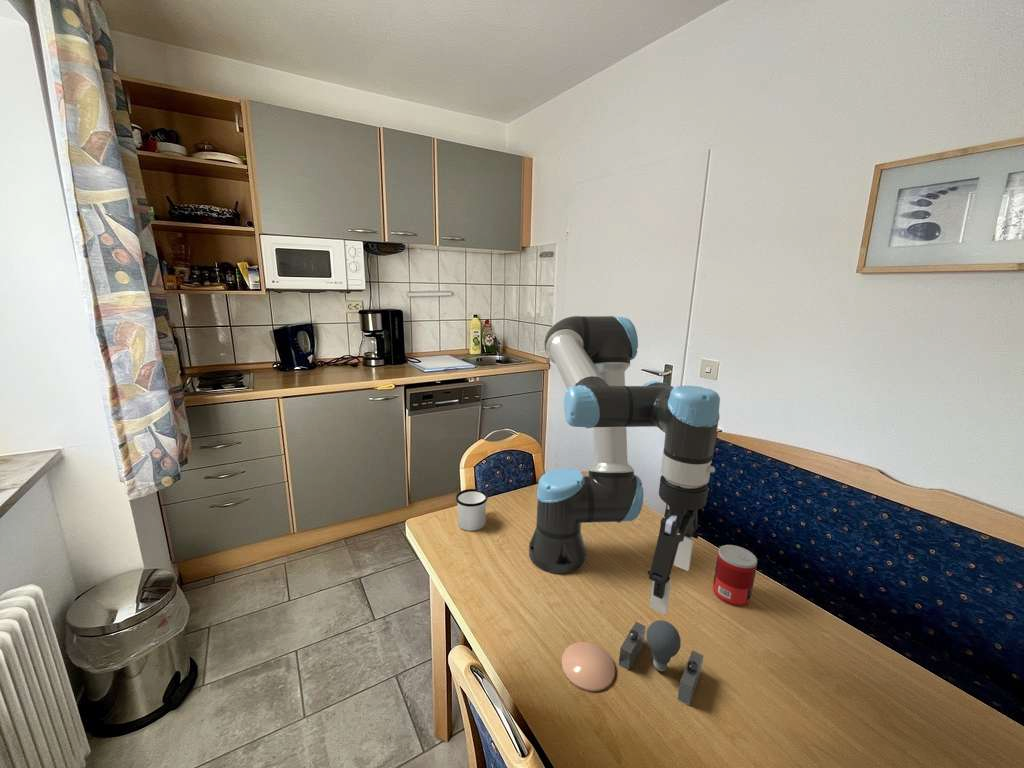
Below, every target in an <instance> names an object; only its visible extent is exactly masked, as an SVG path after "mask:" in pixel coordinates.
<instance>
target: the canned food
mask: <svg viewBox="0 0 1024 768" xmlns="http://www.w3.org/2000/svg"><path fill="white" fill-rule="evenodd" d="M715 563H716V564H715V569H714V575H713V581H712V583H713V584H712V590H713V592H714V595H715V596H716V597H717V598H718V599H719V600H720V601H722V602H724V603H726V604H727V605H730V606H734V607H744V606H747V605H748V604H749V603H750V601H751V597H752V592H753V587H754V583H755V577H756V576H755V575H756V572H757V566H758V559H757V555H755V554H754V553H753V552H751V551H750V550H748V549H746V548H744V547H741V546H740V545H733V544H725V545H721V546H719V548H718V551H717V556H716V562H715Z"/></svg>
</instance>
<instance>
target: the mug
mask: <svg viewBox="0 0 1024 768" xmlns="http://www.w3.org/2000/svg"><path fill="white" fill-rule="evenodd" d="M488 497H489V495H488V494H487V493H486V492H485V491H484V490H481V489H478V488H467V489H464V490H461V491H459V492H458V493H457V494H456V496H455V501H456V503H457V525H458V527H459V528H460V529H462V530H463V531H469V532H472V531H473V532H475V531H478V530H481V529H483V528H484V527H485V526H486V523H487V520H486V519H487V503H488V502H487V501H488V500H489V499H488Z"/></svg>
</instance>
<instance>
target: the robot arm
mask: <svg viewBox="0 0 1024 768" xmlns="http://www.w3.org/2000/svg"><path fill="white" fill-rule="evenodd" d="M638 348H639V339H638V332H637V330H636V327H635V325H634V323H633V322H632V320H630V319H629V318H627V317H623V316H614V315H607V316H606V315H605V316H603V315H601V316H600V315H599V316H590V315H589V316H585V315H584V316H582V315H581V316H580V315H574V316H569V317H565V318H562V319H561V320H559V321H557V322H556V323H555V324H553V325H552V326H551V327H550V329H549V330H548V331H547V332H546V335H545V339H544V351H545V353H546V355H547V357H548V359H549V360H550V362H551V363H553V364H555V366H556V367H557V370H558V373H559V375H560V377H561V380H562V381H563V383H564V385H565V387H566V390H565V392H564V398H563V410H564V411H563V412H564V418H565V420H566V421H565V422H566V423H567V424H568V425H569V427H570V426H571V427H573V428H574V427H576V428H585V429H592V428H593V431H592V432H593V459H594V460H593V463H592V464H591V465H590V466H589V468H588V475H587V476H586V475H585V476H584V474H583V473H582V471H581V470H578V469H576V468H570V467H558V468H554V469H551V470H549V471H547V472H545V473H544V474H543V475H541V476H540V478H539V479H538V480H539V481H538V486H537V492H536V499H537V504H536V505H537V508H536V527H535V529H534V532H533V534H532V536H531V539H530V541H529V544H528V545H529V546H528V557H529V559H530V561H531V562H532V563H533V565H535V566H536V567H537V568H539V569H541V570H542V571H544V572H549V573H551V574H552V573H553V574H562V575H564V574H570V573H573V572H576V571H577V570H579V569H581V568H582V567H583V565H584V564H585V562H586V558H587V550H586V545H585V541H584V539H583V535H582V532H581V530H582V529H581V528H582V524H583V523H584V524H586V523H588V524H589V523H617V524H619V523H622V522H630V521H634V520H636V519H637V518H638V517H639V515H640V514H641V511H642V508H643V504H644V487H643V482H642V480H641V478H640V477H639V476H638V475H636V474H635V469H634V468H633V467H632V466H631V465H630V463H629V462H628V461H629V460H628V437H627V434H628V433H627V432H628V431H627V428H635V427H636V428H637V427H638V428H639V427H643V428H644V427H645V428H647V427H648V428H649V427H650V428H651V427H656V428H658V429H660V431H662V432H663V433H665V435H664V445H663V453H662V461H661V468H660V473H661V476H660V478H659V479H660V480H659V487H658V495H659V498H660V499H661V500H662V502H663V503H665V504H666V505H667V506H668V507H669V508H666V510H665V513H664V516H663V517H662V518H661V519H660V526H659V532H658V538H657V541H656V545H655V550H654V553H653V557H652V563H651V566H650V569H649V570H647V575H648V579H649V580H650V581H651V589H650V598H649V609H652V610H655V611H656V612H658V613H661V614H663V615H664V616H666V615H667V613H668V607H669V599H670V593H671V592H670V591H671V584H672V578H671V574H672V570H673V566H674V567H677V568H680V569H681V570H685V571H687V572H689V570H690V567H691V566H690V565H691V559H692V551H693V545H694V539H697V540H698V539H699V535H700V533H699V532H697V531H696V530H697V529H698V526H699V525H698V510H701V509H703V508H704V507H705V506H706V504H707V501H708V494H709V487H710V486H709V484H708V483H709V481H710V476H711V473H715V472H716V468H715V466H713V465H711V464H712V462H713V457H714V451H715V444H716V440H717V439H716V438H717V432H718V427H719V426H718V425H719V421H720V416H721V415H720V406H721V405H720V404H721V403H720V402H721V397H720V395H719V394H718V392H716V391H715V390H713V389H711V388H706V387H703V386H698V385H697V386H696V385H677V386H675V387H674V386H673V385H671V384H668V383H666V382H662V381H658V380H653V381H648V382H646V383H644V384H642V385H626V376H625V375H626V373H625V372H626V370H627V369H629V367H631V361H632V360H634V359H635V358H636V357H637V354H638Z"/></svg>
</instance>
